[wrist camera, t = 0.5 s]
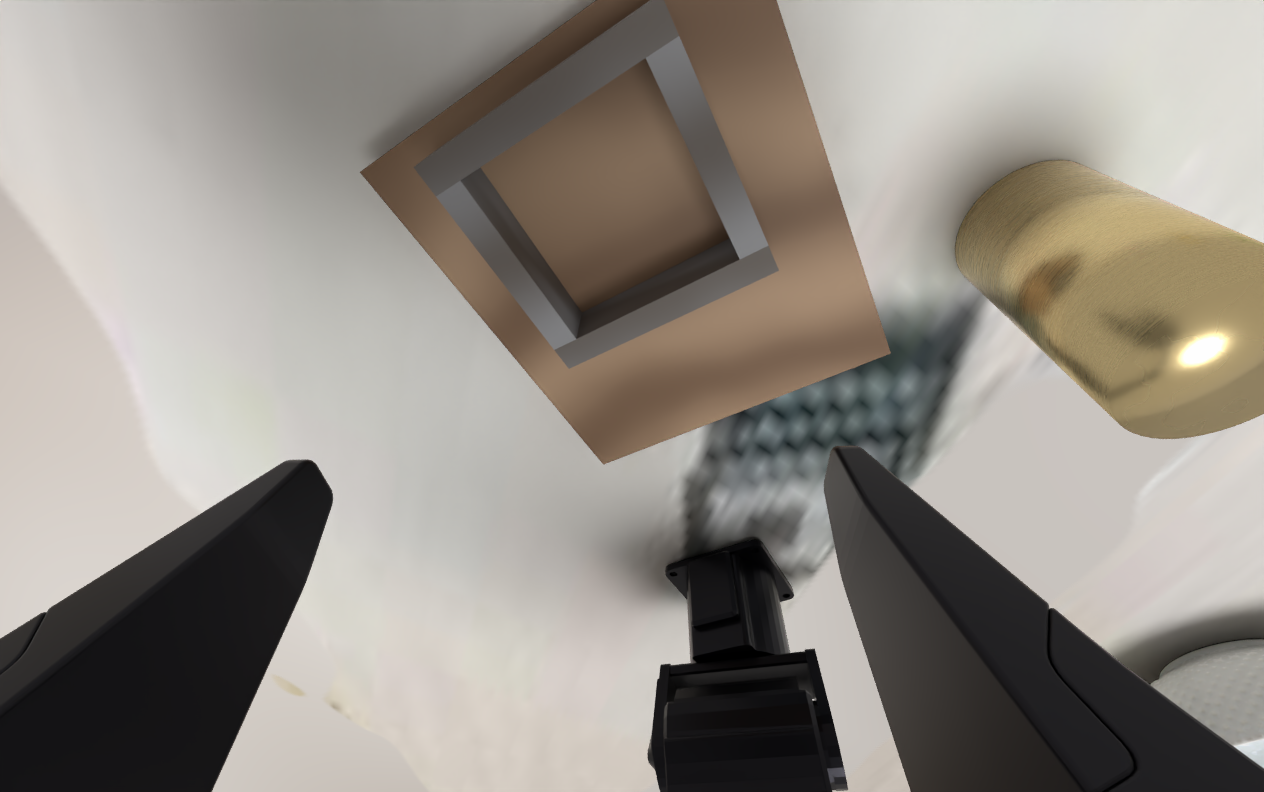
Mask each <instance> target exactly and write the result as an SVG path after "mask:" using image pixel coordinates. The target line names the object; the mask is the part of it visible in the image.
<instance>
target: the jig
mask: <svg viewBox="0 0 1264 792" xmlns="http://www.w3.org/2000/svg"><path fill="white" fill-rule="evenodd" d="M360 173H361V174H362V175H363V176H364V178H365V179H366V180H367V181H368V182H369V184H370V185H371V186H372V187H373V188H374V190H375V191H376V192H377V193H378V194H379V196H380V197H381V198H382V199H383V200H384V202H385V203H386V204H387V205H388V207H389V208H390V209H391V210H392V211H393V213H394V214H395V215H396V216H397V217H398V219H399V220H400V221H401V222H402V223H403V225H404V226H405V227H406V228H407V229H408V231H409V232H410V233H411V234H412V235H413V237H414V238H415V239H416V240H417V241H418V243H419V244H420V245H421V246H422V247H423V249H424V250H425V251H426V252H427V253H428V255H429V256H430V257H431V258H432V259H433V261H434V262H435V263H436V264H437V265H438V267H439V268H440V269H441V270H442V271H443V273H444V274H445V275H446V276H447V277H448V279H449V280H450V281H451V282H452V283H453V285H454V286H455V287H456V288H457V289H458V291H459V292H460V293H461V294H462V295H463V297H464V298H465V299H466V300H467V301H468V303H469V304H470V305H471V306H472V307H473V309H474V310H475V311H476V312H477V313H478V315H479V316H480V317H481V318H482V319H483V321H484V322H485V323H486V324H487V325H488V327H489V328H490V329H491V330H492V331H493V333H494V334H495V335H496V336H497V337H498V339H499V340H500V341H501V342H502V343H503V345H504V346H505V347H506V348H507V349H508V351H509V352H510V353H511V354H512V355H513V357H514V358H515V359H516V360H517V361H518V363H519V364H520V365H521V366H522V367H523V369H524V370H525V371H526V372H527V373H528V375H529V376H530V377H531V378H532V379H533V381H534V382H535V383H536V384H537V385H538V387H539V388H540V389H541V390H542V391H543V393H544V394H545V395H546V396H547V397H548V399H549V400H550V401H551V402H552V403H553V405H554V406H555V407H556V408H557V409H558V411H559V412H560V413H561V414H562V415H563V417H564V418H565V419H566V420H567V421H568V423H569V424H570V425H571V426H572V427H573V429H574V430H575V431H576V432H577V433H578V435H579V436H580V437H581V438H582V439H583V441H584V442H585V443H586V444H587V445H588V447H589V448H590V449H591V450H592V451H593V453H594V454H595V455H596V456H597V457H598V459H599V460H600V461H601V462H602V463H603V464H606V463H608V462H611V461H614V460H616V459H619V458H621V457H624V456H627V455H629V454H632V453H634V452H637V451H640V450H642V449H645V448H647V447H650V446H652V445H655V444H658V443H660V442H663V441H665V440H668V439H671V438H673V437H676V436H678V435H681V434H683V433H686V432H689V431H691V430H694V429H696V428H699V427H702V426H704V425H707V424H709V423H712V422H715V421H717V420H720V419H722V418H725V417H727V416H730V415H733V414H735V413H738V412H740V411H743V410H746V409H748V408H751V407H753V406H756V405H758V404H761V403H764V402H766V401H769V400H771V399H774V398H777V397H779V396H782V395H784V394H787V393H790V392H792V391H795V390H797V389H800V388H802V387H805V386H808V385H810V384H813V383H815V382H818V381H821V380H823V379H826V378H828V377H831V376H833V375H836V374H839V373H841V372H844V371H846V370H849V369H852V368H854V367H857V366H859V365H862V364H865V363H867V362H870V361H872V360H875V359H877V358H880V357H883V356H885V355H888V354H890V349H889V346H888V343H887V340H886V337H885V334H884V331H883V328H882V325H881V322H880V319H879V316H878V312H877V309H876V306H875V303H874V300H873V297H872V294H871V291H870V288H869V285H868V282H867V279H866V275H865V272H864V269H863V266H862V263H861V260H860V257H859V254H858V251H857V248H856V245H855V242H854V238H853V235H852V232H851V229H850V226H849V223H848V220H847V217H846V214H845V211H844V208H843V205H842V201H841V198H840V195H839V192H838V189H837V186H836V183H835V180H834V177H833V174H832V171H831V167H830V164H829V161H828V158H827V155H826V152H825V149H824V146H823V143H822V140H821V137H820V134H819V130H818V127H817V124H816V121H815V118H814V115H813V112H812V109H811V106H810V103H809V100H808V97H807V93H806V90H805V87H804V84H803V81H802V78H801V75H800V72H799V69H798V66H797V63H796V60H795V56H794V53H793V50H792V47H791V44H790V41H789V38H788V35H787V32H786V29H785V26H784V23H783V19H782V16H781V13H780V10H779V7H778V4H777V1H776V0H596V1H595V2H593V3H592V4H591V5H589V6H588V7H586V8H585V9H584V10H582V11H581V12H580V13H578V14H577V15H575V16H574V17H573V18H571V19H570V20H569V21H567V22H566V23H564V24H563V25H562V26H560V27H559V28H558V29H556V30H555V31H553V32H552V33H551V34H549V35H548V36H547V37H545V38H544V39H542V40H541V41H540V42H538V43H537V44H536V45H534V46H533V47H531V48H530V49H529V50H527V51H526V52H525V53H523V54H522V55H520V56H519V57H518V58H516V59H515V60H514V61H512V62H511V63H509V64H508V65H507V66H505V67H504V68H503V69H501V70H500V71H498V72H497V73H496V74H494V75H493V76H492V77H490V78H489V79H487V80H486V81H485V82H483V83H482V84H481V85H479V86H478V87H476V88H475V89H474V90H472V91H471V92H470V93H468V94H467V95H465V96H464V97H463V98H461V99H460V100H459V101H457V102H456V103H454V104H453V105H452V106H450V107H449V108H448V109H446V110H445V111H443V112H442V113H441V114H439V115H438V116H437V117H435V118H434V119H432V120H431V121H430V122H428V123H427V124H426V125H424V126H423V127H421V128H420V129H419V130H417V131H416V132H415V133H413V134H412V135H410V136H409V137H408V138H406V139H405V140H404V141H402V142H401V143H399V144H398V145H397V146H395V147H394V148H393V149H391V150H390V151H388V152H387V153H386V154H384V155H383V156H382V157H380V158H379V159H377V160H376V161H375V162H373V163H372V164H371V165H369V166H368V167H366V168H365V169H364V170H362V171H361V172H360Z"/></svg>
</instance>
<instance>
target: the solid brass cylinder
mask: <svg viewBox="0 0 1264 792" xmlns="http://www.w3.org/2000/svg"><path fill="white" fill-rule="evenodd" d="M955 255H956V261H957V264H958V267H959V269H960V271H961V272H962V274H963V275H964V276H965V277H966V278H967V279H968V280H969V281H970V282H971V283H972V284H973V285H974V286H975V287H976V288H977V289H978V290H979V291H980V292H981V293H982V294H983V295H984V296H986V297H987V298H988V299H989V300H990V301H991V302H992V303H993V304H994V305H995V306H996V307H997V308H998V309H999V310H1000V311H1001V312H1002V313H1003V314H1004V315H1005V316H1007V317H1008V318H1009V319H1010V320H1011V321H1012V322H1013V323H1014V324H1015V325H1016V326H1017V327H1018V328H1019V329H1020V330H1021V331H1022V332H1023V333H1024V334H1025V335H1026V336H1027V337H1029V338H1030V339H1031V340H1032V341H1033V342H1034V343H1035V344H1036V345H1037V346H1038V347H1039V348H1040V349H1041V350H1042V351H1043V352H1044V353H1045V354H1046V355H1047V356H1048V357H1049V358H1051V359H1052V360H1053V361H1054V362H1055V363H1056V364H1057V365H1058V366H1059V367H1060V368H1061V369H1062V370H1063V371H1064V372H1065V373H1066V374H1067V375H1068V376H1069V377H1070V378H1071V379H1073V380H1074V381H1075V382H1076V383H1077V384H1078V385H1079V386H1080V387H1081V388H1082V389H1083V390H1084V391H1085V392H1086V393H1087V394H1088V395H1089V396H1090V397H1091V398H1093V399H1094V400H1095V401H1096V402H1097V403H1098V404H1099V405H1100V406H1101V407H1102V408H1103V409H1104V410H1105V411H1106V412H1107V413H1108V414H1109V415H1110V416H1111V417H1112V418H1113V419H1115V420H1116V421H1117V422H1118V423H1119V424H1120V425H1121V426H1122V427H1123V428H1125V429H1127V430H1128V431H1130V432H1132V433H1135V434H1138V435H1140V436H1145V437H1150V438H1159V439H1177V438H1188V437H1194V436H1200V435H1205V434H1209V433H1213V432H1217V431H1221V430H1224V429H1227V428H1230V427H1233V426H1236V425H1238V424H1241V423H1244V422H1246V421H1249V420H1251V419H1253V418H1255V417H1258V416H1260V415H1262V414H1264V243H1262V242H1259V241H1257V240H1255V239H1252V238H1250V237H1248V236H1245V235H1243V234H1241V233H1239V232H1236V231H1234V230H1232V229H1229V228H1227V227H1225V226H1222V225H1220V224H1218V223H1215V222H1213V221H1211V220H1208V219H1206V218H1204V217H1201V216H1199V215H1197V214H1194V213H1192V212H1190V211H1187V210H1185V209H1183V208H1181V207H1178V206H1176V205H1174V204H1171V203H1169V202H1167V201H1164V200H1162V199H1160V198H1157V197H1155V196H1153V195H1150V194H1148V193H1146V192H1143V191H1141V190H1139V189H1136V188H1134V187H1132V186H1129V185H1127V184H1125V183H1123V182H1120V181H1118V180H1116V179H1113V178H1111V177H1109V176H1106V175H1104V174H1102V173H1099V172H1097V171H1095V170H1092V169H1090V168H1088V167H1085V166H1083V165H1081V164H1078V163H1076V162H1072V161H1066V160H1049V161H1044V162H1038V163H1035V164H1032V165H1028V166H1026V167H1024V168H1021V169H1019V170H1017V171H1015V172H1013V173H1011V174H1009V175H1007V176H1006V177H1004V178H1003V179H1001V180H1000V181H998V182H997V183H996V184H994V185H993V186H992V187H990V188H989V189H988V190H987V191H986V192H985V193H984V194H983V195H982V196H981V197H980V198H979V199H978V200H977V201H976V203H975V204H974V205H973V206H972V208H971V209H970V210H969V212H968V214H967V215H966V217H965V219H964V220H963V222H962V225H961V227H960V229H959V232H958V235H957V239H956V245H955Z"/></svg>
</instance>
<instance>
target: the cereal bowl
mask: <svg viewBox="0 0 1264 792" xmlns="http://www.w3.org/2000/svg"><path fill="white" fill-rule="evenodd" d="M1150 685H1151V686H1152V687H1154V688H1155V689H1156V690H1158V691H1159V692H1160V693H1162V694H1163V695H1164V696H1166V697H1167V698H1168V699H1170V700H1171V701H1172V702H1174V703H1175V704H1176V705H1178V706H1179V707H1180V708H1182V709H1183V710H1185V711H1186V712H1187V713H1189V714H1190V715H1191V716H1193V717H1194V718H1195V719H1197V720H1198V721H1200V722H1201V723H1202V724H1204V725H1205V726H1206V727H1208V728H1209V729H1211V730H1212V731H1213V732H1215V733H1216V734H1217V735H1219V736H1220V737H1222V738H1223V739H1224V740H1226V741H1227V742H1228V743H1230V744H1231V745H1233V746H1234V747H1235V748H1237V749H1238V750H1239V751H1241V752H1242V753H1243V754H1245V755H1246V756H1248V757H1249V758H1250V759H1252V760H1253V761H1254V762H1256V763H1257V764H1259V765H1260V766H1261V767H1263V768H1264V639H1257V640H1239V641H1232V642H1226V643H1220V644H1216V645H1212V646H1208V647H1205V648H1201V649H1198V650H1195V651H1193V652H1190V653H1188V654H1185V655H1183V656H1181V657H1179V658H1177V659H1176V660H1174V661H1172V662H1171V663H1169V664H1168V665H1167V666H1166V667H1165V668H1164V669H1163V670H1162V671H1161V673H1160V676H1159V679H1158V680H1155V681H1154V682H1153V683H1151V684H1150Z"/></svg>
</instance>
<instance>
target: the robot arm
mask: <svg viewBox="0 0 1264 792" xmlns="http://www.w3.org/2000/svg"><path fill="white" fill-rule="evenodd" d="M824 493H825V499H826V504H827V509H828V514H829V519H830V524H831V529H832V534H833V539H834V544H835V549H836V554H837V559H838V564H839V568H840V573H841V577H842V581H843V584H844V587H845V591H846V594H847V597H848V600H849V603H850V606H851V609H852V612H853V616H854V619H855V622H856V625H857V628H858V631H859V634H860V637H861V640H862V643H863V646H864V649H865V652H866V655H867V658H868V661H869V665H870V668H871V671H872V674H873V677H874V680H875V683H876V686H877V689H878V692H879V695H880V698H881V701H882V704H883V707H884V710H885V713H886V717H887V720H888V722H889V726H890V729H891V732H892V735H893V738H894V741H895V744H896V747H897V750H898V753H899V756H900V760H901V763H902V766H903V769H904V772H905V775H906V778H907V781H908V784H909V787H910V790H911V792H1264V768H1263V767H1261V766H1260V765H1259V764H1257V763H1256V762H1254V761H1253V760H1252V759H1250V758H1249V757H1248V756H1246V755H1245V754H1243V753H1242V752H1241V751H1239V750H1238V749H1237V748H1235V747H1234V746H1233V745H1231V744H1230V743H1228V742H1227V741H1226V740H1224V739H1223V738H1222V737H1220V736H1219V735H1217V734H1216V733H1215V732H1213V731H1212V730H1211V729H1209V728H1208V727H1206V726H1205V725H1204V724H1202V723H1201V722H1200V721H1198V720H1197V719H1195V718H1194V717H1193V716H1191V715H1190V714H1189V713H1187V712H1186V711H1185V710H1183V709H1182V708H1180V707H1179V706H1178V705H1176V704H1175V703H1174V702H1172V701H1171V700H1170V699H1168V698H1167V697H1166V696H1164V695H1163V694H1162V693H1160V692H1159V691H1158V690H1156V689H1155V688H1154V687H1152V686H1151V685H1150V684H1148V683H1147V682H1146V681H1144V680H1143V679H1142V678H1140V677H1139V676H1138V675H1136V674H1135V673H1134V672H1132V671H1131V670H1130V669H1128V668H1127V667H1126V666H1124V665H1123V664H1122V663H1121V662H1119V661H1118V660H1117V659H1116V658H1114V657H1113V656H1112V655H1111V654H1109V653H1108V652H1107V651H1106V650H1104V649H1103V648H1102V647H1101V646H1099V645H1098V644H1097V643H1096V642H1094V641H1093V640H1092V639H1091V638H1090V637H1088V636H1087V635H1086V634H1085V633H1083V632H1082V631H1081V630H1080V629H1078V628H1077V627H1076V626H1075V625H1074V624H1072V623H1071V622H1070V621H1069V620H1068V619H1066V618H1065V617H1064V616H1063V615H1062V614H1060V613H1059V612H1058V611H1057V610H1056V609H1054V608H1050V609H1049V605H1048V603H1047V602H1046V601H1044V600H1043V599H1042V598H1041V597H1040V596H1038V595H1037V594H1036V593H1035V592H1034V591H1032V590H1031V589H1030V588H1029V587H1028V586H1026V585H1025V584H1024V583H1023V582H1022V581H1020V580H1019V579H1018V578H1017V577H1016V576H1014V575H1013V574H1012V573H1011V572H1010V571H1008V570H1007V569H1006V568H1005V567H1004V566H1002V565H1001V564H1000V563H999V562H998V561H997V560H995V559H994V558H993V557H992V556H990V555H989V554H988V553H987V552H986V551H985V550H983V549H982V548H981V547H979V545H977V544H976V543H975V542H974V541H973V540H971V539H970V538H969V537H968V536H966V535H965V534H964V533H963V532H962V531H960V530H959V529H958V528H957V527H956V526H955V525H953V524H952V523H951V522H949V521H948V520H947V519H946V518H945V517H944V516H943V515H941V514H940V513H939V512H938V511H936V510H935V509H934V508H933V507H932V506H930V505H929V504H928V503H927V502H926V501H924V500H923V499H922V498H921V497H920V496H918V495H917V494H916V493H915V492H914V491H913V490H911V489H910V488H909V487H908V486H907V485H905V484H904V483H903V482H902V481H901V480H899V479H898V478H897V477H896V476H895V475H893V474H892V473H891V472H890V471H889V470H887V469H886V468H885V467H884V466H883V465H881V464H880V463H879V462H878V461H877V460H875V459H874V458H873V457H872V456H871V455H869V454H868V453H867V452H866V451H865V450H863V449H862V448H860V447H858V446H836V447H834V448H833V449H832V450H831V453H830V457H829V461H828V466H827V471H826V475H825V480H824ZM332 503H333V493H332V490H331V488H330V486H329V485H328V483H327V481H326V480H325V478H324V476H323V475H322V473H321V471H320V470H319V468H318V466H317V465H316V464H315V463H314V462H313V461H311V460H288V461H285V462H283V463H281V464H280V465H278V466H276V467H275V468H273V469H272V470H270V471H268V472H267V473H265V474H264V475H262V476H260V477H259V478H257V479H256V480H254V481H252V482H251V483H249V484H248V485H246V486H244V487H243V488H241V489H240V490H238V491H236V492H235V493H233V494H232V495H230V496H228V497H227V498H225V499H224V500H222V501H220V502H219V503H217V504H216V505H214V506H212V507H211V508H209V509H208V510H206V511H204V512H203V513H201V514H200V515H198V516H197V517H195V518H193V519H192V520H190V521H188V522H187V523H185V524H184V525H182V526H180V527H179V528H177V529H176V530H174V531H172V532H171V533H169V534H168V535H166V536H164V537H163V538H161V539H160V540H158V541H156V542H155V543H153V544H152V545H150V546H148V547H147V548H145V549H144V550H142V551H141V552H139V553H138V554H136V555H134V556H132V557H131V558H129V559H128V560H126V561H124V562H123V563H121V564H120V565H118V566H116V567H115V568H113V569H111V570H110V571H108V572H107V573H105V574H104V575H102V576H100V577H99V578H97V579H95V580H94V581H92V582H91V583H89V584H87V585H86V586H84V587H83V588H81V589H79V590H78V591H77V592H75V593H73V594H71V595H70V596H68V597H67V598H65V599H64V600H62V601H60V602H59V603H57V604H56V605H54V606H52V607H51V608H50V609H49V610H48V611H47V612H44V613H41V614H39V615H38V616H36V617H34V618H33V619H31V620H30V621H28V622H26V623H25V624H23V625H22V626H20V627H18V628H17V629H15V630H14V631H12V632H10V633H9V634H7V635H5V636H4V637H2V638H1V639H0V792H212V790H213V788H214V785H215V783H216V781H217V779H218V777H219V774H220V772H221V770H222V768H223V765H224V763H225V761H226V759H227V757H228V754H229V752H230V750H231V748H232V746H233V743H234V741H235V739H236V737H237V735H238V732H239V730H240V728H241V726H242V723H243V721H244V719H245V717H246V715H247V712H248V710H249V708H250V706H251V703H252V701H253V699H254V697H255V695H256V693H257V690H258V688H259V686H260V684H261V681H262V679H263V677H264V675H265V672H266V670H267V668H268V666H269V664H270V661H271V659H272V657H273V655H274V653H275V650H276V648H277V646H278V644H279V642H280V639H281V637H282V635H283V633H284V630H285V628H286V626H287V624H288V622H289V619H290V617H291V615H292V613H293V611H294V608H295V606H296V604H297V602H298V600H299V597H300V595H301V593H302V590H303V588H304V586H305V583H306V581H307V578H308V575H309V572H310V570H311V567H312V564H313V561H314V558H315V555H316V552H317V549H318V546H319V543H320V540H321V537H322V534H323V531H324V528H325V525H326V522H327V519H328V516H329V513H330V510H331V507H332ZM665 573H666V576H667V578H668V579H669V580H670V581H671V582H672V583H673V584H674V585H675V587H676V588H677V589H678V590H679V591H680V592H681V593H682V594H683V596H684V597H685V598H686V599H687V604H688V623H689V642H690V660H691V663H689V664H679V665H671V664H663V665H661V666H660V676H659V679H658V680H657V688H656V698H655V708H654V718H653V729H652V735H651V740H650V744H649V748H648V761H649V763H650V765H651V766H652V767H653V768H654V769H655V771H656V775H657V781H658V785H659V789H660V792H832V790H836V791H844V790H848V787H847V781H846V776H845V772H844V767H843V762H842V758H841V753H840V749H839V744H838V740H837V736H836V732H835V727H834V723H833V719H832V715H831V711H830V707H829V703H828V700H827V696H826V692H825V688H824V684H823V680H822V676H821V672H820V668H819V664H818V661H817V656H816V653H815V649H806V650H805V652H795V653H790V650H789V645H788V640H787V635H786V630H785V625H784V620H783V615H782V610H781V605H780V602H781V601H785V600H789V599H792V598H793V597H794V593H793V589H792V587H791V586H790V584H789V583H788V581H787V580H786V578H785V577H784V575H783V574H782V572H781V571H780V569H779V568H778V566H777V565H776V563H775V562H774V560H773V559H772V557H771V556H770V554H769V552H768V551H767V549H766V548H765V546H764V545H763V543H762V542H761V541H759V540H750V541H747V542H744V543H740V544H737V545H734V546H730V547H727V548H724V549H720V550H717V551H714V552H710V553H707V554H704V555H700V556H697V557H694V558H690V559H687V560H684V561H680V562H677V563H674V564H670V565H668V566H667V567H666V569H665ZM812 699H815V701H812Z"/></svg>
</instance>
